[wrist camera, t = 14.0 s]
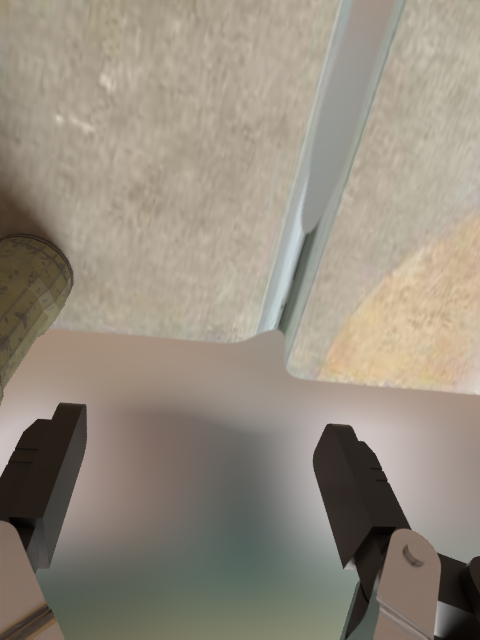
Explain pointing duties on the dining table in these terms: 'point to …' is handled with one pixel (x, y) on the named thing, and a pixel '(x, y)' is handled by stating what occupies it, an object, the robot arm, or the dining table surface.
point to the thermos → (28, 296)
